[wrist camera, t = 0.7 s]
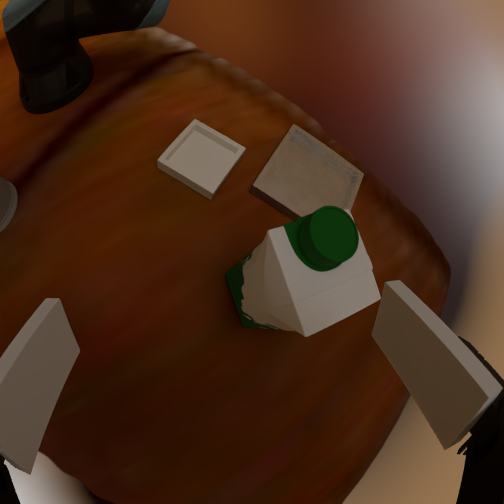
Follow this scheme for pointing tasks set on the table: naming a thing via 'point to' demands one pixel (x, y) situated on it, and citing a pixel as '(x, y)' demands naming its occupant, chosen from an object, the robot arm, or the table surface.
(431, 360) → the robot arm
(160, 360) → the table surface
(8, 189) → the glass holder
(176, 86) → the table surface
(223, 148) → the small square white tray
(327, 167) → the shallow grey tray
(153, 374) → the table surface
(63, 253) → the table surface
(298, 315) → the milk carton
